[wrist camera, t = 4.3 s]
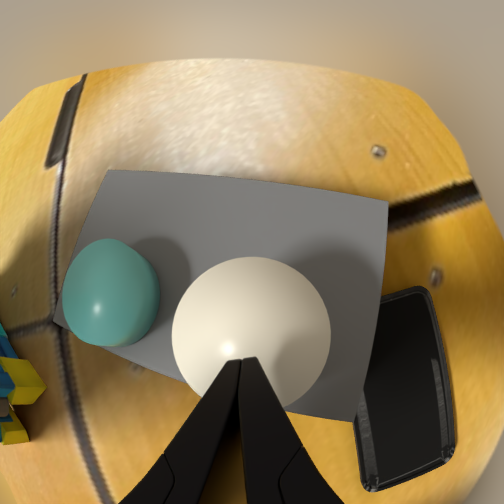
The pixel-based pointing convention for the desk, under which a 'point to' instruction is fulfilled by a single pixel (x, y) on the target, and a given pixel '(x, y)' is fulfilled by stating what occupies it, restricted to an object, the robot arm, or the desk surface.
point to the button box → (251, 245)
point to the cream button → (252, 325)
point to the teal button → (110, 294)
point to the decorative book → (15, 391)
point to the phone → (404, 395)
